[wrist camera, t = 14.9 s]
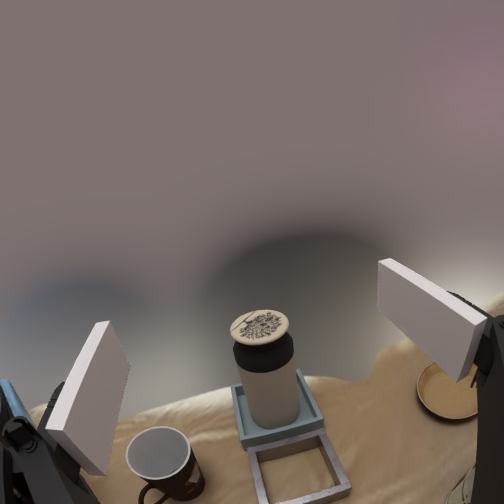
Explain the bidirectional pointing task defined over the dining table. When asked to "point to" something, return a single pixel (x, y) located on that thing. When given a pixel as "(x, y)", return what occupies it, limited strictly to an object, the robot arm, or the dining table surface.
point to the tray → (258, 435)
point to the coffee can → (462, 489)
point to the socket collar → (292, 446)
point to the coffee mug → (165, 464)
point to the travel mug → (267, 367)
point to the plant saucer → (447, 393)
